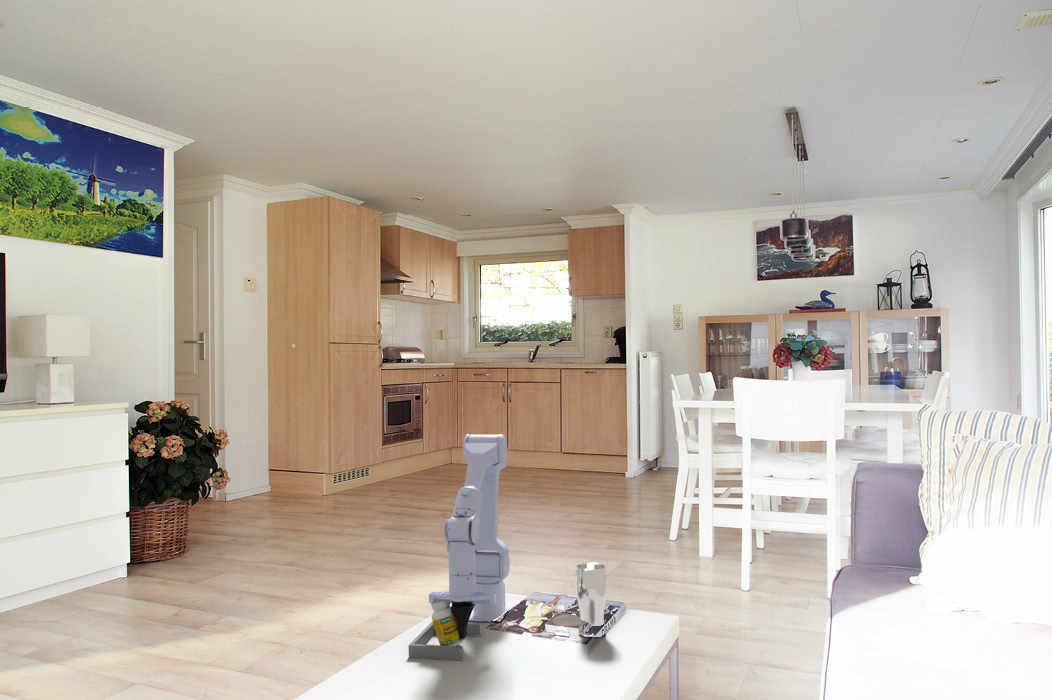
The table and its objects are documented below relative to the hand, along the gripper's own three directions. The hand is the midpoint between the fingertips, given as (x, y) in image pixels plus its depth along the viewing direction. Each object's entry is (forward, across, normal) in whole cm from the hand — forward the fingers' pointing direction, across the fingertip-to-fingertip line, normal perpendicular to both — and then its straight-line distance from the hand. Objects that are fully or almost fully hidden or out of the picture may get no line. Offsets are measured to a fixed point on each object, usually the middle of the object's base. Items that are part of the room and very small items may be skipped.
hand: (462, 637), depth 159 cm
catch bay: (+2, -4, +1) cm, 4 cm away
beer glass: (+2, +26, +13) cm, 29 cm away
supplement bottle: (+2, -2, +1) cm, 3 cm away
